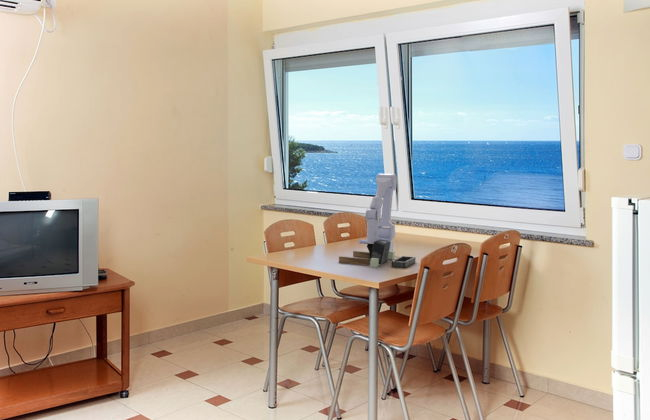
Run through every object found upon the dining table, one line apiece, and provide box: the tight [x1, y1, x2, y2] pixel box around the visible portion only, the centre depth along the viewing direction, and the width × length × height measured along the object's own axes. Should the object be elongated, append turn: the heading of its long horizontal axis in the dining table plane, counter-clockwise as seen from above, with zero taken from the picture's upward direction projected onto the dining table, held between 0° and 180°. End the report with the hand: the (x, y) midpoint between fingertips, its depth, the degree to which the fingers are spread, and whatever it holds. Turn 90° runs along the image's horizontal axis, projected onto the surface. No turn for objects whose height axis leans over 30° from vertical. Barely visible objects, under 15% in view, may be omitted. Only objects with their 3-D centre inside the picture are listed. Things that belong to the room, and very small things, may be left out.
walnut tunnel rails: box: [338, 250, 371, 266], centre depth 325 cm, size 20×16×3 cm
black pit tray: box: [390, 255, 416, 269], centre depth 315 cm, size 16×7×3 cm, turn 154°
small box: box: [369, 239, 391, 265], centre depth 320 cm, size 11×6×10 cm, turn 157°
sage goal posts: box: [370, 250, 396, 268], centre depth 320 cm, size 26×3×4 cm, turn 154°
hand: (371, 258), depth 322 cm, fingers closed, pressing on small box
